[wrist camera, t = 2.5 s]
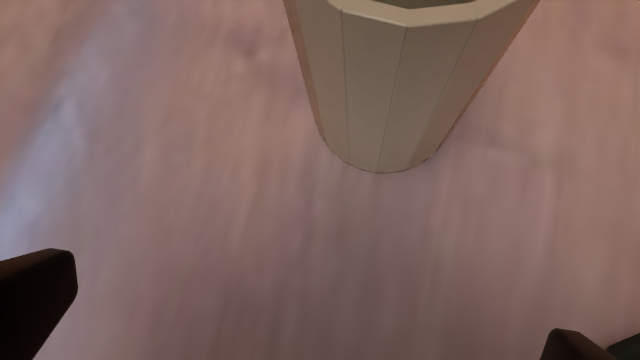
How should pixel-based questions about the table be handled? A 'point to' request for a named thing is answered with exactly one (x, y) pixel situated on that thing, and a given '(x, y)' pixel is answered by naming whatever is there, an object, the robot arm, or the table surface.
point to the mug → (626, 349)
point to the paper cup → (397, 70)
